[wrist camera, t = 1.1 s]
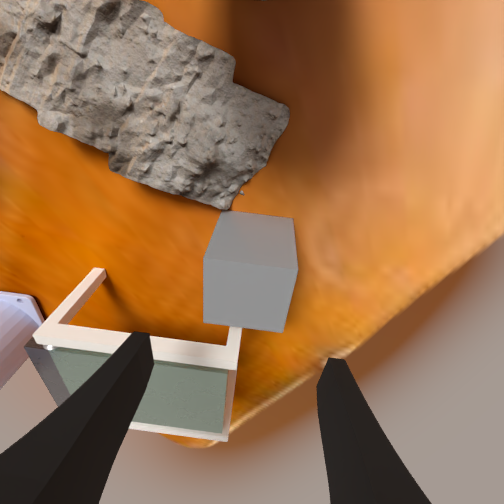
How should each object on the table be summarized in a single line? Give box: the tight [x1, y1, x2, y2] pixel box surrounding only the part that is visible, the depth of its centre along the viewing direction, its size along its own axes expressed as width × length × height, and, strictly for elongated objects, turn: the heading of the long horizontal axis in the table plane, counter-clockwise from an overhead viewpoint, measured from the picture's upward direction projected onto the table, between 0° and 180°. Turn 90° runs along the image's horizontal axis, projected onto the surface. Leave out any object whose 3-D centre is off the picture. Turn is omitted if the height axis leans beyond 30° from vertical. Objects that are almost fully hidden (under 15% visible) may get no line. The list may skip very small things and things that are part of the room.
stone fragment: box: [0, 0, 290, 210], centre depth 13 cm, size 25×3×10 cm
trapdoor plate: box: [24, 337, 229, 434], centre depth 19 cm, size 12×8×2 cm
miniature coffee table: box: [32, 267, 242, 442], centre depth 21 cm, size 12×11×6 cm
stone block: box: [203, 210, 298, 333], centre depth 17 cm, size 5×5×6 cm
